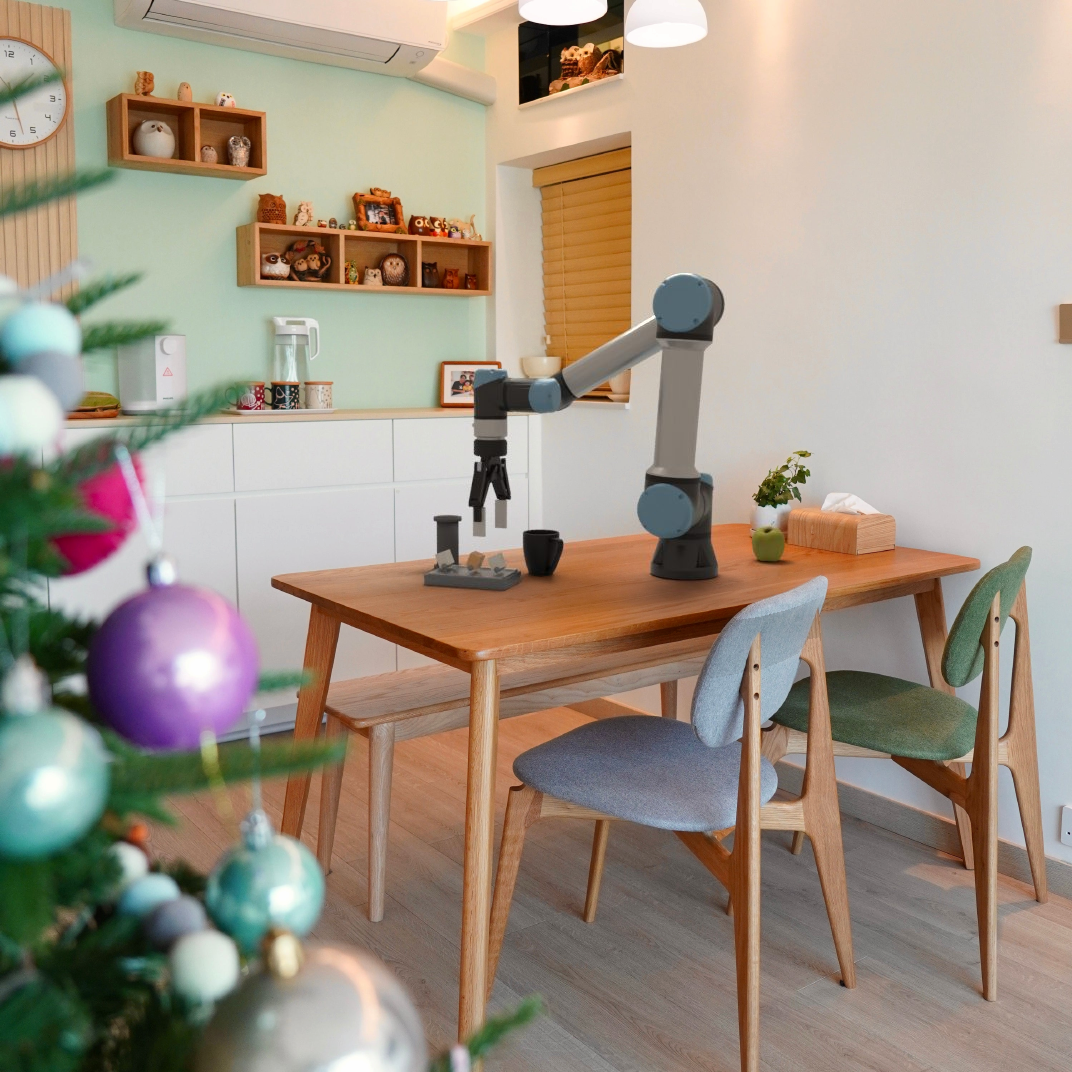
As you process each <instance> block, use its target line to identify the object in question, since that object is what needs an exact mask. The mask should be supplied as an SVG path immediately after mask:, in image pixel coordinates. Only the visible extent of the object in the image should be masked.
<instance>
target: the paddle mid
mask: <svg viewBox="0 0 1072 1072" xmlns="http://www.w3.org/2000/svg"><path fill="white" fill-rule="evenodd" d="M485 557H486V555H485V554H483V553H482V552H479V551H476V550H475V551H472V552H470V553H469V556H468V559H467V561H466V564H465V565H466V566H468V567H467V569H468V570H469V571H472V570H477V569H479V568H481V566H482V565H483V563H484V560H485Z"/></svg>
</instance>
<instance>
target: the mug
mask: <svg viewBox="0 0 1072 1072" xmlns="http://www.w3.org/2000/svg"><path fill="white" fill-rule="evenodd" d="M564 544H565V543H564V540H563V539H562V538H560V532H559V530H555V529H554V530H553V529H527V530H524V531H523V532H522V551H523V557H524V563H525V565H526V569H527V573H528V575H530V576H535V577H548V576H549V577H550V576H552V575H554V572H555V571H556V569H557V567H558V564H559V562H560V560H561V557H562V554H563V551H564Z"/></svg>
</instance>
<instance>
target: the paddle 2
mask: <svg viewBox="0 0 1072 1072" xmlns="http://www.w3.org/2000/svg"><path fill="white" fill-rule="evenodd" d="M486 559H487V561H488V565H489V567H491V570H492V571H494V572H496V573H498V572H500V571H502V570H504V569H505V568H506V567H507V565H508V564H507V563H506V560H505V558H504V555H503V552H499V553H495V554H493V555H491V556H489V557H487V558H486Z"/></svg>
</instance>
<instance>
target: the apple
mask: <svg viewBox="0 0 1072 1072" xmlns="http://www.w3.org/2000/svg"><path fill="white" fill-rule="evenodd" d="M774 523H775V521H773V522H772V523H771V525H766V526H761V527H759V528H757V529H756V530H755V531H754V532H753V534H752V538H751V546H752V551H753V553H754V556H755V558H756V559H757V560H759V561H760V562H777V561H779V560H780V559H781V558H782V556H783V555H784V551H785V547H786V539H785V538H786V537H785V536H784V534H783V532H782V531H781V530H780V529H779V528H778V527H775V526H773V524H774Z"/></svg>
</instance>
